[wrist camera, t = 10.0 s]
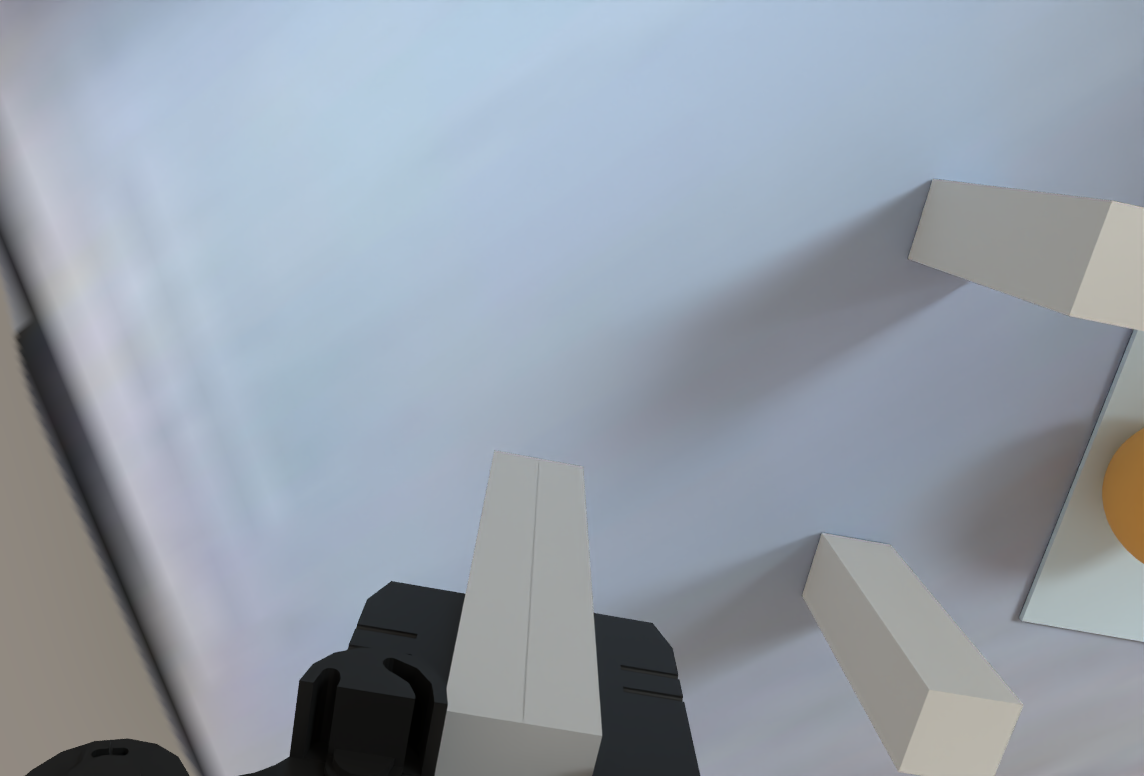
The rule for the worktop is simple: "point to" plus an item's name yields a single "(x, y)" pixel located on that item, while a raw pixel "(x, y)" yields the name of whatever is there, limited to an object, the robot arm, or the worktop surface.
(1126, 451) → the ball
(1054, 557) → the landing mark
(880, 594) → the post
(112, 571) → the worktop surface
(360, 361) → the worktop surface
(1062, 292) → the post
